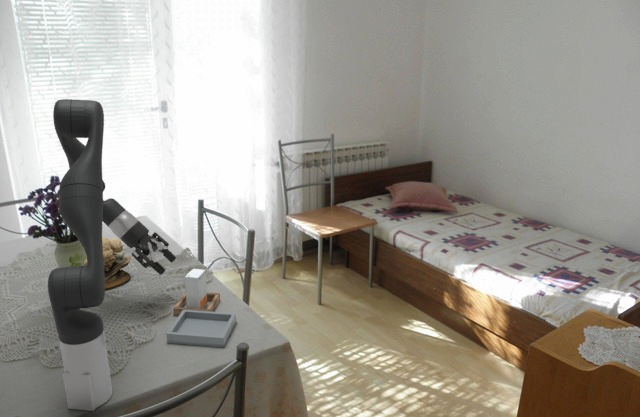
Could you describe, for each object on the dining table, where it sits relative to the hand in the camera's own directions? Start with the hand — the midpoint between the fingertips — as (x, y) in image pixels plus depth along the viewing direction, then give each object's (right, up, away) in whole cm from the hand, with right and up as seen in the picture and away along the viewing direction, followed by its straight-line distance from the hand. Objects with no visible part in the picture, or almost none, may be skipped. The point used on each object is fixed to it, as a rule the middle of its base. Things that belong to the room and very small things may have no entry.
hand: (169, 266), depth 158 cm
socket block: (+8, -13, +4) cm, 16 cm away
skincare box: (+8, -13, +4) cm, 16 cm away
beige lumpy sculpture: (-27, -8, +19) cm, 33 cm away
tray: (+12, -18, -9) cm, 23 cm away
